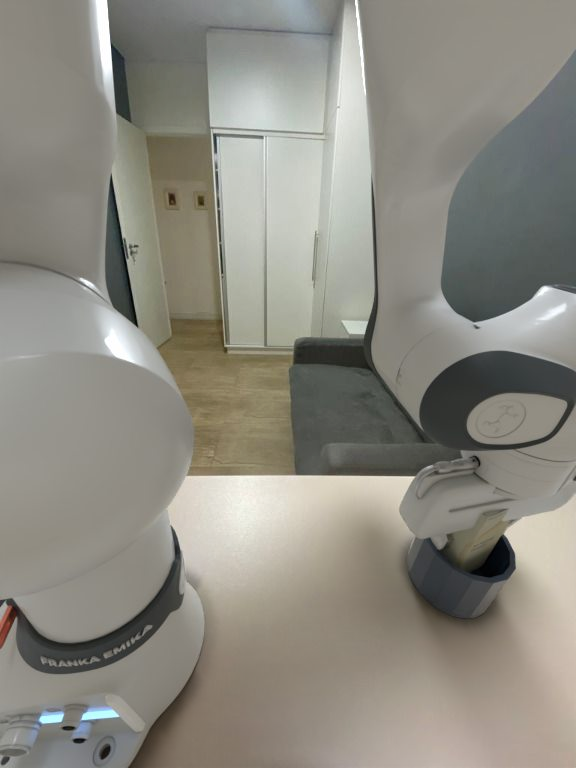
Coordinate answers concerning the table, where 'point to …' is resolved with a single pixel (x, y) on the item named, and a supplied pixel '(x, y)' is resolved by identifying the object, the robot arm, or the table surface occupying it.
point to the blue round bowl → (459, 578)
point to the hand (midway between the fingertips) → (466, 537)
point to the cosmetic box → (476, 541)
